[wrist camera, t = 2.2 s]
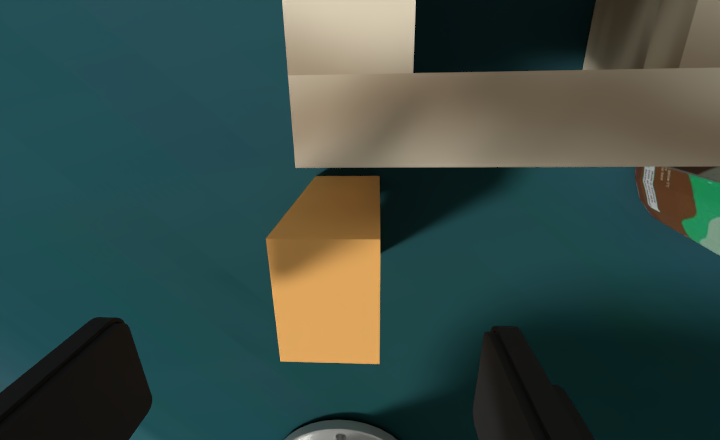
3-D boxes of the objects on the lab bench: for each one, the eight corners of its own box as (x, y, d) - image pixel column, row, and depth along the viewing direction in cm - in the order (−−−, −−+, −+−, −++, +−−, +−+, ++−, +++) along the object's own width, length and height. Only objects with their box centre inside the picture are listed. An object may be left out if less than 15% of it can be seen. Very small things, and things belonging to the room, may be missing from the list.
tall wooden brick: (379, 254, 23) (379, 363, 13) (320, 253, 23) (280, 361, 14) (379, 175, 21) (380, 239, 12) (315, 175, 21) (266, 238, 12)
